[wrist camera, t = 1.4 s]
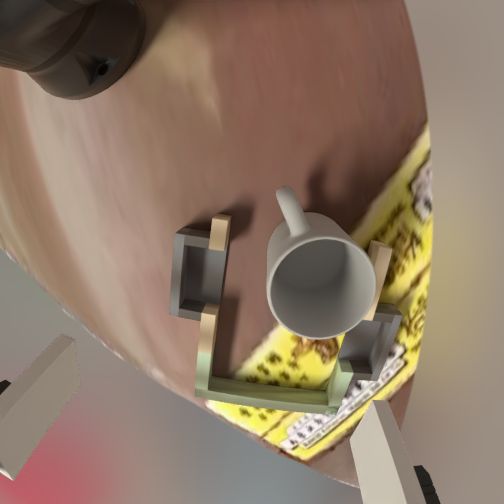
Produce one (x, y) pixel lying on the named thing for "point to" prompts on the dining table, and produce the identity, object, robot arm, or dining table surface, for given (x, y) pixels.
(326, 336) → the mug
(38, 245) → the dining table surface
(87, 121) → the dining table surface
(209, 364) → the grey-green u-shaped bracket
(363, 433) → the robot arm
